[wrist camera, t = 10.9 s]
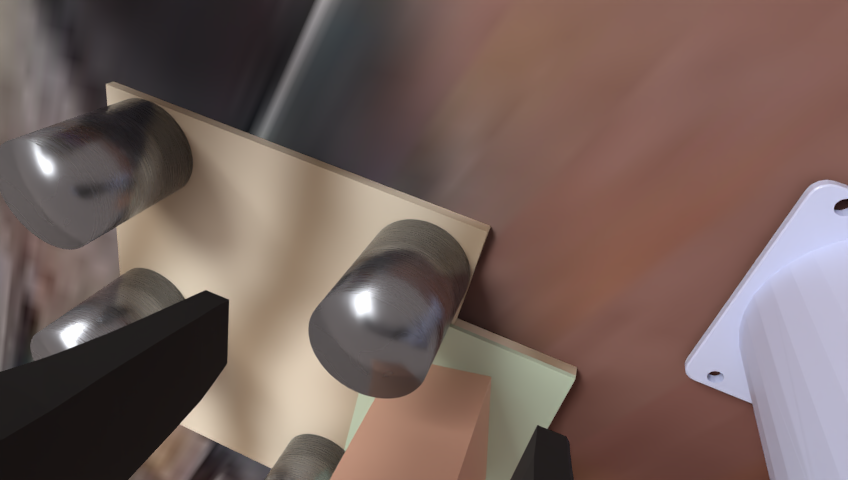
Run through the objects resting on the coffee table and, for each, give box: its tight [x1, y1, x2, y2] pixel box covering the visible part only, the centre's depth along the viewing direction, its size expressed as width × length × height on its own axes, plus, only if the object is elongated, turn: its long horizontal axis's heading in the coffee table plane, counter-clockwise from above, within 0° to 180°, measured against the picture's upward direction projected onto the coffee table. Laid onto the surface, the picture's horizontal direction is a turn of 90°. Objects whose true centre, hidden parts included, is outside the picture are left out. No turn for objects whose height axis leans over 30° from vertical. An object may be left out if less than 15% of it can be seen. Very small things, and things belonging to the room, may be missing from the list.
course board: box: [0, 82, 577, 480], centre depth 24 cm, size 21×19×6 cm
